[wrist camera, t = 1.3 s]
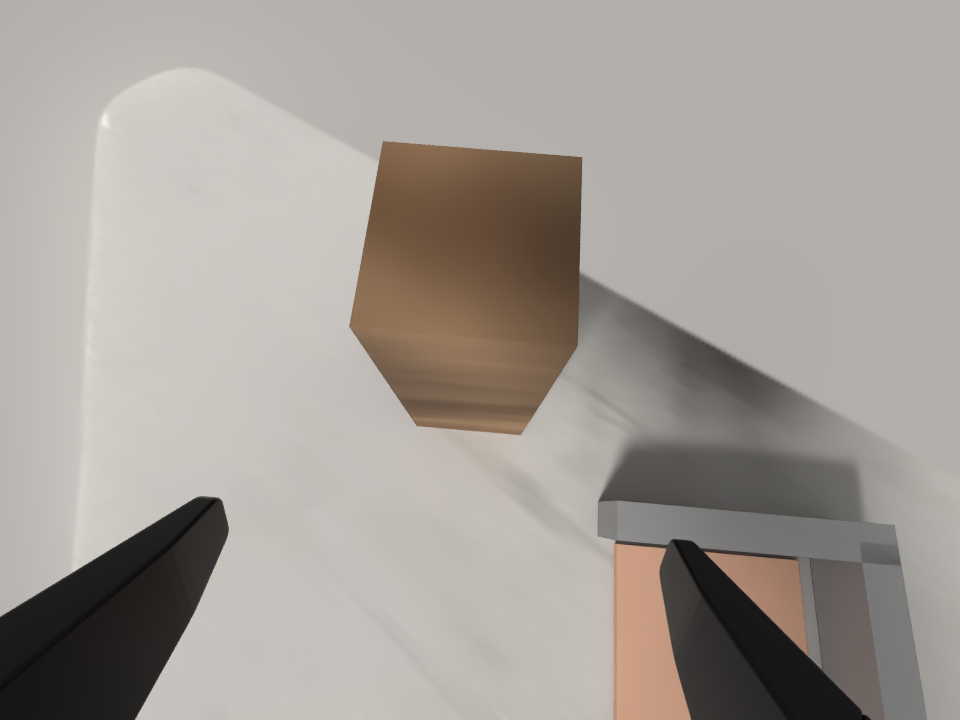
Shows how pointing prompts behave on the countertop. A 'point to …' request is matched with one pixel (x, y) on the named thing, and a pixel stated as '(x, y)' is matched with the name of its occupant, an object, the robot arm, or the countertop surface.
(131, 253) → the countertop surface
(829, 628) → the corner bracket
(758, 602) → the pad
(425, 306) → the walnut block
